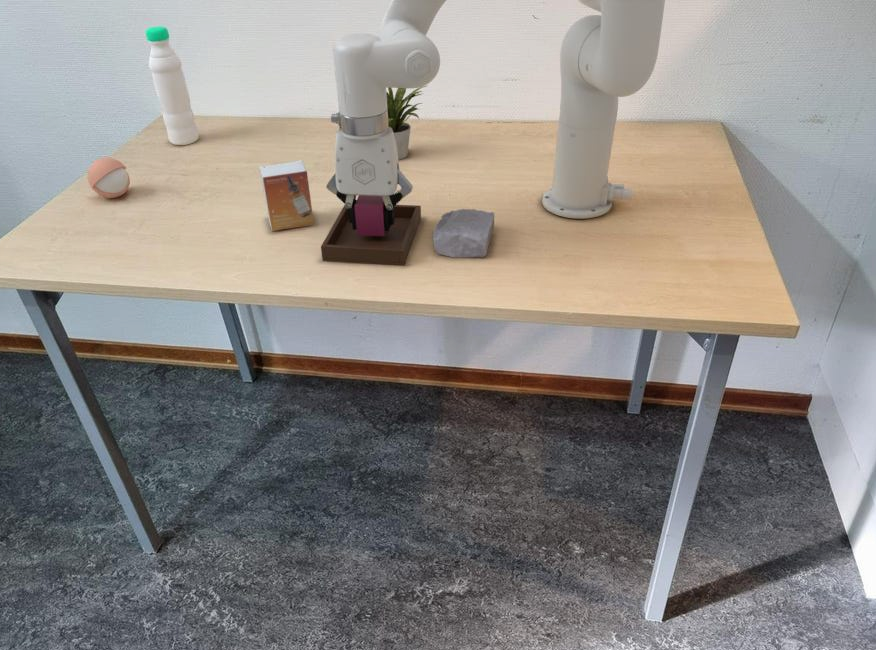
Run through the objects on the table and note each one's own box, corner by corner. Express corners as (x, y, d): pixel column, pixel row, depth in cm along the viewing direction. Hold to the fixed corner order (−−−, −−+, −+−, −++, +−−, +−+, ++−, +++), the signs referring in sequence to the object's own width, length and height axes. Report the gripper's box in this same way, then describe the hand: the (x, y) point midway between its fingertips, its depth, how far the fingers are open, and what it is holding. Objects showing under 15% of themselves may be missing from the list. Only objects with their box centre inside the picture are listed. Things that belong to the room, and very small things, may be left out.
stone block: (432, 265, 112) (491, 258, 109) (426, 239, 109) (486, 232, 106) (444, 234, 121) (498, 227, 118) (438, 210, 119) (493, 202, 115)
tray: (421, 219, 122) (420, 205, 120) (404, 265, 109) (403, 250, 107) (347, 216, 124) (345, 202, 122) (322, 261, 112) (320, 246, 110)
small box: (271, 232, 121) (261, 177, 114) (268, 219, 125) (257, 165, 118) (314, 225, 122) (307, 170, 115) (310, 212, 126) (302, 159, 120)
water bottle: (169, 138, 162) (139, 26, 147) (198, 133, 164) (171, 22, 148) (170, 148, 157) (139, 33, 141) (200, 143, 158) (172, 29, 143)
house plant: (424, 171, 139) (422, 90, 129) (360, 170, 141) (352, 91, 131) (432, 145, 150) (431, 69, 139) (372, 145, 152) (367, 70, 142)
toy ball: (111, 207, 133) (97, 169, 128) (87, 199, 136) (73, 162, 131) (142, 192, 138) (131, 155, 133) (118, 185, 141) (106, 148, 136)
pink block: (388, 223, 117) (386, 193, 114) (384, 236, 114) (382, 206, 110) (361, 222, 118) (359, 193, 114) (357, 235, 114) (354, 205, 111)
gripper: (305, 129, 102) (319, 234, 114) (413, 131, 99) (417, 239, 111) (318, 113, 108) (331, 215, 119) (421, 114, 105) (424, 219, 116)
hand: (372, 226), depth 115 cm, fingers closed on pink block, 5 cm apart
